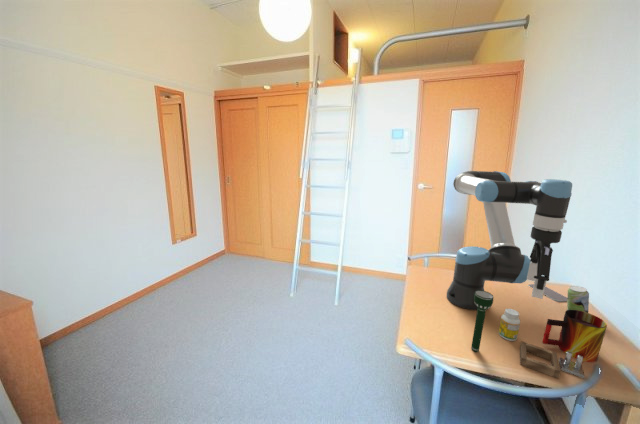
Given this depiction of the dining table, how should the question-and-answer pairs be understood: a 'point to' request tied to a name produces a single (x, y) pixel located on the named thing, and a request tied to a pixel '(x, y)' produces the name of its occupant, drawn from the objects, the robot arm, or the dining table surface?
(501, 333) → the supplement bottle
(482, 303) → the flashlight
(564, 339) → the mug
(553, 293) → the smartphone
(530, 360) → the collar block
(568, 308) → the beverage can
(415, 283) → the dining table surface
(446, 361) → the dining table surface
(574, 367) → the peg rest
